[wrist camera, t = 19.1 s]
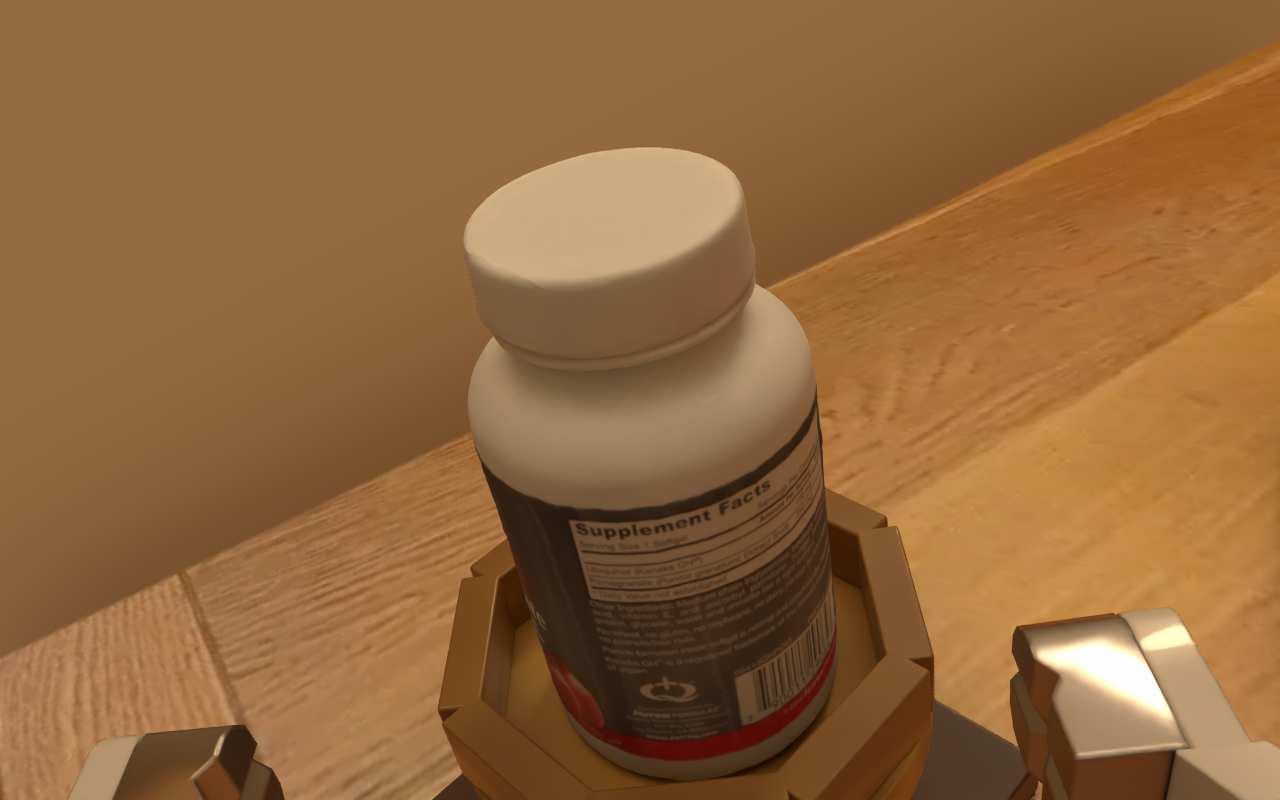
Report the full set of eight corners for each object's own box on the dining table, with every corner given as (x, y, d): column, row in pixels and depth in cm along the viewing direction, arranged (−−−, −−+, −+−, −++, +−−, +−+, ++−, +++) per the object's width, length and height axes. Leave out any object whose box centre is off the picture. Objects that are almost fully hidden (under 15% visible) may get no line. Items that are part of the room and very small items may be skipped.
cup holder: (744, 1183, 18) (690, 995, 14) (417, 846, 24) (321, 653, 21) (1039, 787, 23) (1057, 570, 19) (705, 590, 29) (669, 396, 25)
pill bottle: (541, 605, 23) (406, 175, 17) (787, 538, 23) (736, 96, 17) (582, 830, 18) (419, 351, 13) (886, 743, 19) (859, 242, 13)
